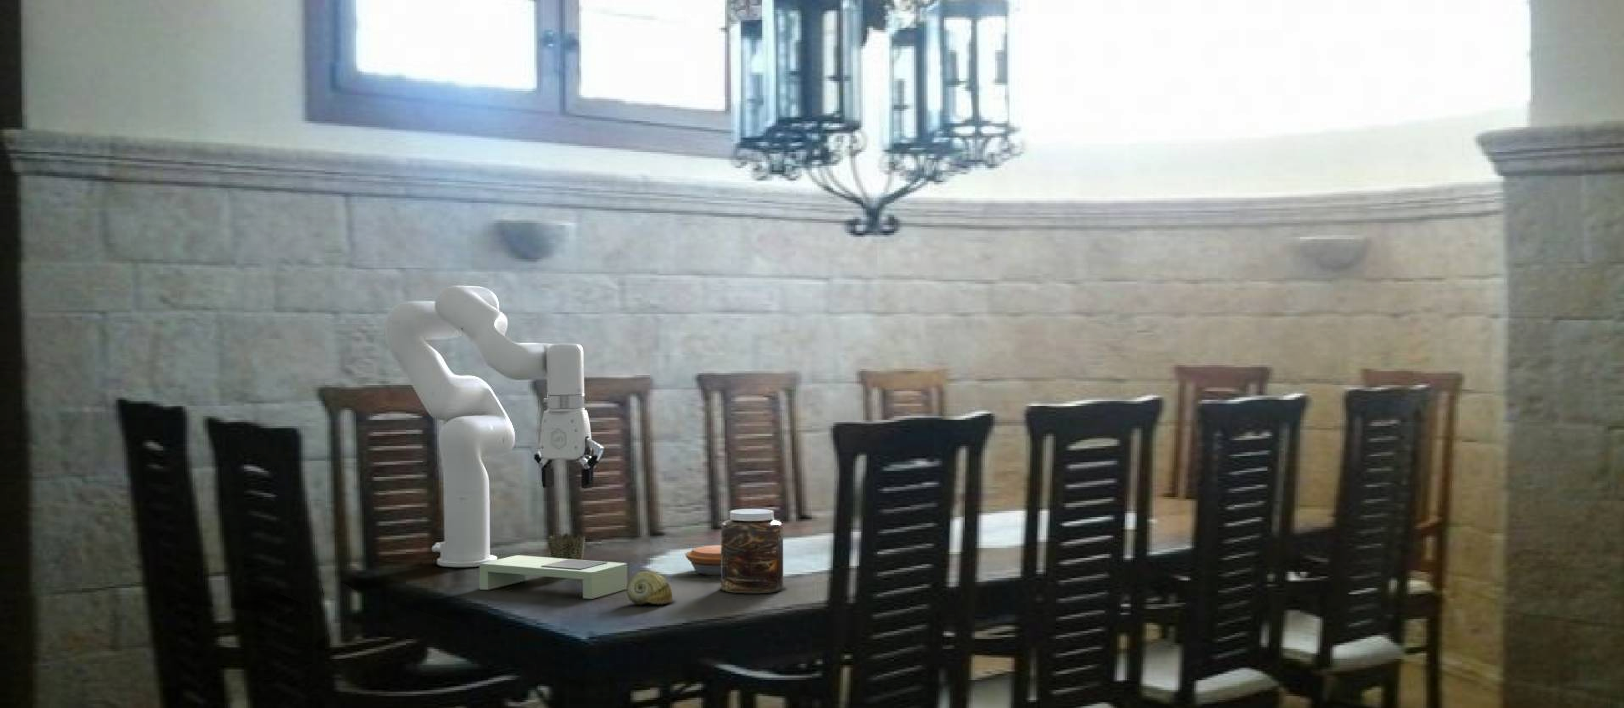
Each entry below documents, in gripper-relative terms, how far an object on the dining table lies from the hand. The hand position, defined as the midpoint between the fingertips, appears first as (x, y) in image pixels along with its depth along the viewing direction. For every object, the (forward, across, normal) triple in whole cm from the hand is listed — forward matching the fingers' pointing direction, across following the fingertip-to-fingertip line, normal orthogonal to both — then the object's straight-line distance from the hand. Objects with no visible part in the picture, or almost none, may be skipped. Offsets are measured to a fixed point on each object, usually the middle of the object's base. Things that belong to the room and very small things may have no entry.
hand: (567, 487), depth 311 cm
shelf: (+18, +8, -16) cm, 25 cm away
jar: (+19, +42, 0) cm, 46 cm away
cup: (+18, 0, 0) cm, 18 cm away
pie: (+18, +27, +17) cm, 36 cm away
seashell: (+19, +32, -21) cm, 43 cm away
